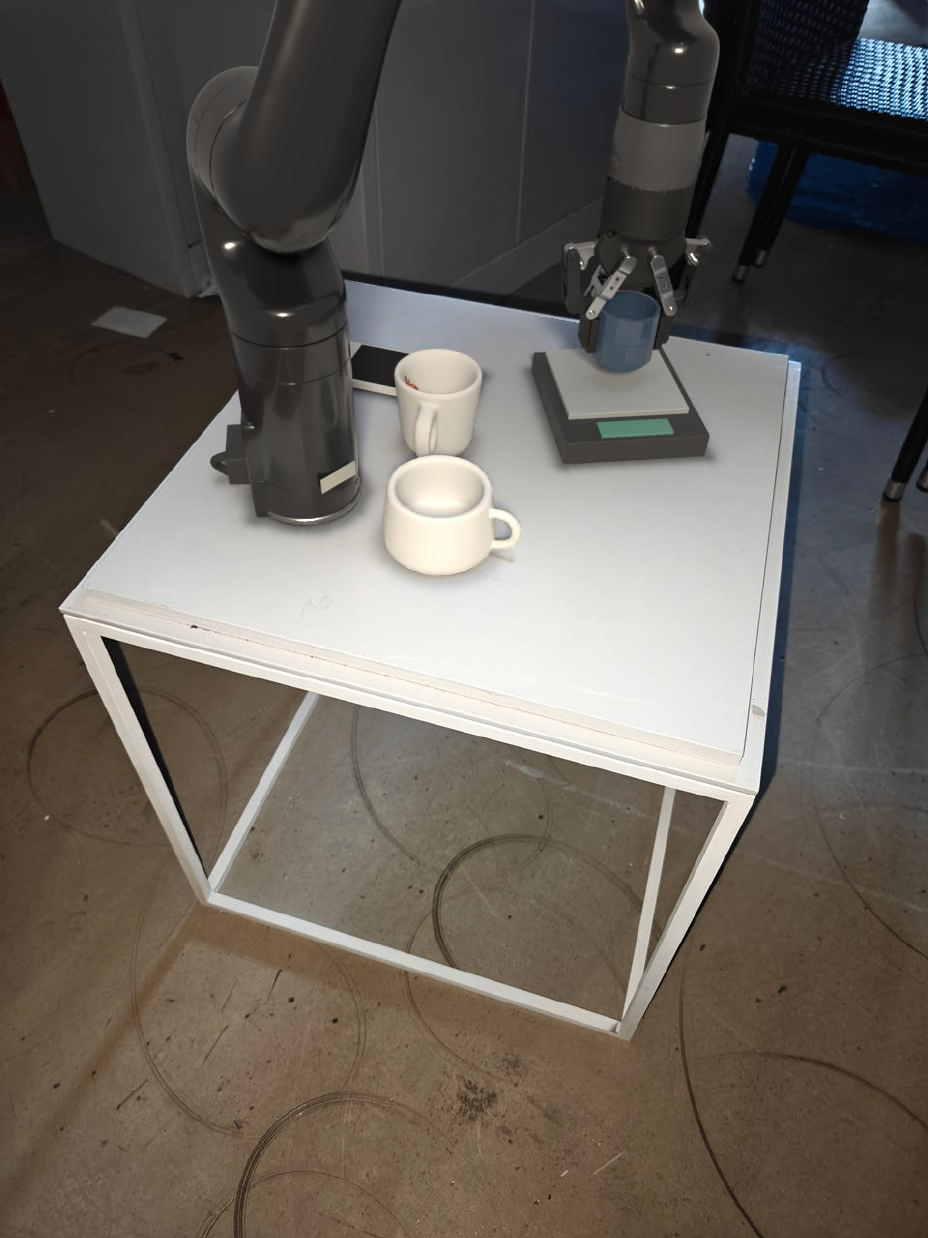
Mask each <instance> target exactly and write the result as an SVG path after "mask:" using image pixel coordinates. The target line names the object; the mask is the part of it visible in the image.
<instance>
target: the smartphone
mask: <svg viewBox="0 0 928 1238" xmlns="http://www.w3.org/2000/svg"><path fill="white" fill-rule="evenodd" d="M350 353H351V367H352V382H353V388H355V389H360V390H365V391H368V392H369V391H370V392H374V393H378V394H384V395H389V396H394V397H397V392H396V384H395V377H394V373H395V368H396V366H397V364H398V363H399V362H400V361H401V360H402V359H403V358H404V357H406V356H408V355H409V354H412V353H413V352H408V351H403V350H399V349H394V348H393V349H392V348H387V347H384V346H377V345H373V344H367V343H363V342H359V341H352V340H350Z"/></svg>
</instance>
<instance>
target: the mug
mask: <svg viewBox="0 0 928 1238" xmlns="http://www.w3.org/2000/svg"><path fill="white" fill-rule="evenodd" d="M494 505H495V501H494V489H493V483H492V480H491V479H490V477H489V476H488V473H486V471H484V470H483V469H482V468H481V467H480V466H479V465H477V464H475V463H473V462H472V461H470V460H468V459H465V458H461V457H458V456H448V455H429V456H423V457H416V458H412V459H410V460H407V461H406V462H404V463H403V464H401V465H399V466H398V467H397V468H396V469H395V470H394V471H393V472H392V473H391V474H390V477H389V478H388V481H387V484H386V489H385V499H384V509H383V518H382V539H383V540H382V541H383V544H384V546H385V549H386V551H387V553H388V554H389V556H391V557H392V558H393V559H394V561H396V562H397V563H398V564H400V565H402V566H403V567H405V568H406V569H408V570H411V571H414V572H416V573H419V574H422V575H427V576H433V577H435V576H451V575H456V574H462V573H465V572H466V571H468V570H471V569H473V568H475V567H476V566H477V565H478V564H480V563H481V562H483V561H484V560H485V559H487V557H488V556H489V555H490V553H491V552H492V550H502V551H503V550H507V549H511V548H513V547H514V546H516V545H517V544H518V543H519V541H520V540H521V538H522V527H521V525H520V522H519V520H518V519H517V518H516V517H515V516H514V515H513V514H512V513H510V512H509V511H507V510H504V509H501V508H497V507H496V508H495V506H494ZM496 519H498V520H501V521H503V522H504V523H506V524H507V525H508V526H509V527H510V529H511V534H510V537H509V538H507V539H496V532H497V531H496Z"/></svg>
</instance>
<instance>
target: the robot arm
mask: <svg viewBox="0 0 928 1238" xmlns="http://www.w3.org/2000/svg"><path fill="white" fill-rule="evenodd" d="M402 2H403V0H275V4H274V8H273V13H272V17H271V21H270V25H269V29H268V31H267V36H266V39H265V43H264V45H263V50H262V53H261V56H260V61H259V63H258V66H254V65H253V66H251V65H246V66H245V65H244V66H237V67H232V68H228V69H226V70H224V71H222V72H219V73H218V74H217V75H215V76H214V77H212V78H211V79H210V80H209V81H208V82H207V83H206V84H205V85H204V86H203V87H202V88H201V90H200V91H199V92H198V93H197V96H196V97H195V99H194V101H193V103H192V106H191V109H190V112H189V115H188V119H187V120H188V121H187V125H186V135H185V136H186V137H185V138H186V142H185V143H186V156H187V165H188V171H189V177H190V181H191V187H192V192H193V197H194V202H195V207H196V212H197V216H198V222H199V227H200V230H201V235H202V240H203V245H204V249H205V253H206V259H207V263H208V267H209V270H210V273H211V277H212V280H213V282H214V284H215V287H216V290H217V293H218V295H219V298H220V302H221V306H222V309H223V315H224V321H225V325H226V331H227V335H228V336H227V337H228V342H229V347H230V348H229V349H230V353H231V358H232V365H233V370H234V376H235V381H236V388H237V393H238V399H239V404H240V423H235V424H234V423H233V424H232V423H231V424H227V425H226V436H225V437H226V439H225V450H224V451H221V452H218V453H216V454H214V455H212V456H211V457H210V460H209V461H210V462H209V464H210V466H211V467H212V468H213V469H214V470H215V471H217V472H219V473H222V474H224V475H226V476H227V478H228V483H229V485H230V486H231V485H249V484H250V489H251V496H252V500H253V506H254V512H255V517H256V518H270V519H271V520H274V521H276V522H279V523H282V524H285V525H290V526H298V527H311V526H320V525H323V524H328V523H330V522H331V523H332V522H333V521H336V520H338V519H340V518H342V517H343V516H345V515H346V514H348V513H349V512H350V511H352V510H353V508H354V507H355V506H356V505H357V504H358V502H359V500H360V497H361V493H362V487H361V486H362V485H361V478H360V469H359V468H360V467H359V457H358V442H357V429H356V428H357V427H356V412H355V400H354V399H355V398H354V387H353V382H352V367H351V353H350V341H351V340H350V339H351V338H350V324H349V323H350V322H349V307H348V294H347V286H346V281H345V279H344V276H343V274H342V271H341V269H340V267H339V265H338V262H337V260H336V258H335V257H336V256H335V255H334V252H333V250H332V246H331V244H330V240H329V236H330V234H332V233H333V232H334V231H335V229H336V228H337V226H338V225H339V224H340V222H341V221H342V219H343V218H344V216H345V214H346V212H347V210H348V208H349V206H350V204H351V202H352V198H353V196H354V193H355V189H356V186H357V182H358V178H359V174H360V170H361V168H362V167H361V166H362V162H363V157H364V153H365V148H366V144H367V139H368V136H369V130H370V125H371V121H372V116H373V112H374V108H375V104H376V103H375V102H376V98H377V94H378V90H379V84H380V81H381V77H382V72H383V68H384V64H385V59H386V55H387V51H388V48H389V45H390V40H391V36H392V32H393V29H394V27H395V23H396V20H397V17H398V13H399V11H400V8H401V5H402ZM624 7H625V23H626V31H627V42H628V45H627V54H626V60H625V66H624V71H623V80H622V87H621V94H620V98H619V99H620V100H619V106H618V113H617V116H616V120H615V124H614V127H613V130H612V136H611V142H610V149H609V154H608V155H609V156H608V163H607V168H606V169H607V170H606V177H605V184H604V191H603V199H602V205H601V212H600V218H599V219H600V221H599V227H598V230H597V232H596V233H595V235H594V237H593V238H592V240H590V241H585V242H579V243H575V241H574V240H571V239H566V240H564V241H563V242H562V244H561V248H560V249H561V250H560V251H561V289H562V291H561V293H562V294H561V296H562V299H563V302H564V304H565V305H566V309H567V312H568V314H570V315H576V314H578V315H579V323H578V330H577V338H578V342H579V344H580V347H581V349H585V351H586V353H594V352H595V347H596V340H597V334H598V327H599V321H600V320H599V317H598V315H599V313H600V311H601V310H602V308H603V307H604V305H605V304H606V302H607V301H610V300H611V299H612V298H613V296H614V295H615V293H616V292H617V290H620V289H628V288H632V287H640V288H653V289H654V293H655V296H656V299H657V301H658V303H659V304H660V306H661V312H660V317H659V322H658V327H657V332H656V336H655V341H654V346H653V350H661V348H663V345H666V344H667V343H668V341H669V339H670V335H671V331H672V326H673V321H674V317H675V315H676V314H677V312H678V311H680V310H682V309H685V308H686V309H688V310H692V309H693V308H695V307H696V306H697V304H698V302H699V299H700V296H701V293H702V290H703V288H704V285H705V284H706V283H705V282H706V280H707V277H708V275H709V272H710V269H711V266H712V264H713V261H714V258H715V256H716V253H717V252H716V249H715V247H714V245H712V243H711V241H710V240H709V239H708V237H707V236H706V235H705V234H699V235H698V236H696V237H695V238H687V237H686V229H687V226H688V221H689V218H690V217H689V216H690V212H691V207H692V203H693V197H694V194H695V190H696V184H697V180H698V175H699V171H700V169H701V167H702V162H703V158H702V156H703V151H704V146H705V140H706V139H705V138H706V137H705V136H706V127H707V126H706V125H707V120H708V119H707V118H708V112H709V107H710V103H711V99H712V94H713V89H714V84H715V81H716V80H715V79H716V74H717V70H718V64H719V58H720V50H721V49H720V39H719V35H718V33H717V32H716V30H715V29H714V28H713V27H712V26H711V24H710V23H709V22H708V21H707V20H706V19H705V16H704V15H703V14H702V13H703V12H702V10H701V8H700V7H701V6H700V0H624ZM682 256H684V259H685V261H686V264H685V267H684V269H683V272H682V275H681V278H680V281H679V283H678V286H677V289H676V290H674V289H673V286H672V283H671V279H670V278H671V277H670V275H669V271H670V270H671V269H672V268H673V266H674V265H675V264H676V263H677V262H678V261H679V260H680V259H681V258H682ZM592 257H595V258H596V260H597V262H598V263H599V264H598V266H597V268H596V270H595V271H594V272H593V274H592V276H591V279H590V283H589V285H588V286H587V288H586V290H585V291H584V293H583V294H582V289H581V288H582V283H581V281H582V279H581V278H582V277H581V275H582V273H581V271H584V270H586V268H587V266H588V262H589V260H590V259H591V258H592ZM223 462H225V464H224V463H223Z"/></svg>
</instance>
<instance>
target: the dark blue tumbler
mask: <svg viewBox="0 0 928 1238" xmlns="http://www.w3.org/2000/svg"><path fill="white" fill-rule="evenodd" d="M660 312H661V306H660V304H659V302H658V299H657V300H656V299H655V298H654V297H653V296H651V295H649V294H646V293H644V292H641V291H636V290H629V289H618V290H617V292H616V293H615V295H614V296H613V298H612V299H611V300H610V301H607V302H606V304H605V305H604V307H603V308H602V310H601V311H600V313H599V315H598V317H599V320H600V321H599V327H598V334H597V340H596V347H595V352H594V353H591V355H592V357H593V358H594V359H595V361H596V362H597V363H598V364H599V365H601V366H602V367H604V368H606V369H609V370H613V371H618V372H630V371H635V370H638V369H640V368H641V367H643V366H645V365H646V364H647V363H648V362H649V361H650V360H651V356H652V351H653V346H654V341H655V336H656V332H657V327H658V322H659V317H660Z"/></svg>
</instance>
